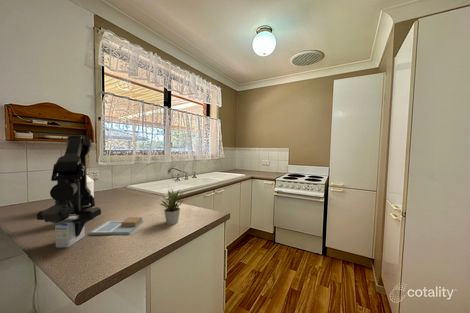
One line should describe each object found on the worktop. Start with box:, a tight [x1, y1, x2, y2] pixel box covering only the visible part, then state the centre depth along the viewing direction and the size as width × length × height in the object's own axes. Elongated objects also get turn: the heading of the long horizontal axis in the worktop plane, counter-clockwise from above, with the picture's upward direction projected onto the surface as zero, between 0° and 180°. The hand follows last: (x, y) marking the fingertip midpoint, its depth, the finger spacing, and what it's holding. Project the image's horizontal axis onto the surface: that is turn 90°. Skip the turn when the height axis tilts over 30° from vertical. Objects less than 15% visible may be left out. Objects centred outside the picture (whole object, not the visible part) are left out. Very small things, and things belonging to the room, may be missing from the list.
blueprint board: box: [88, 216, 144, 236], centre depth 81 cm, size 16×12×3 cm
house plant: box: [157, 188, 188, 226], centre depth 88 cm, size 14×14×16 cm
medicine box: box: [54, 216, 86, 248], centre depth 69 cm, size 8×4×9 cm, turn 5°
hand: (70, 236), depth 69 cm, fingers closed on medicine box, 4 cm apart
